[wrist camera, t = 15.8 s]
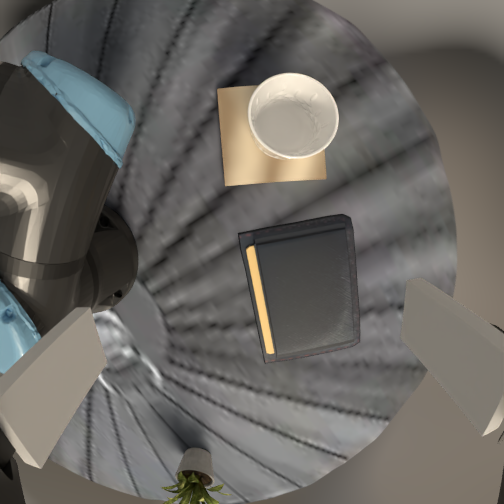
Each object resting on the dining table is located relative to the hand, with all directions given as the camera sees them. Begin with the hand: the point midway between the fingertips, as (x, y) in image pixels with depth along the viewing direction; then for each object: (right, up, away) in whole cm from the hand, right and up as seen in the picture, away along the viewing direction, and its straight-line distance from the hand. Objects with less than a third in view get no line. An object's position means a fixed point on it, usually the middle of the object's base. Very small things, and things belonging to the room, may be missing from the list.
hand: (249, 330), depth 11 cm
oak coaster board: (+2, +17, +23) cm, 29 cm away
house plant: (-9, -36, +36) cm, 52 cm away
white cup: (+3, +17, +22) cm, 28 cm away
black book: (+7, -2, +29) cm, 30 cm away
